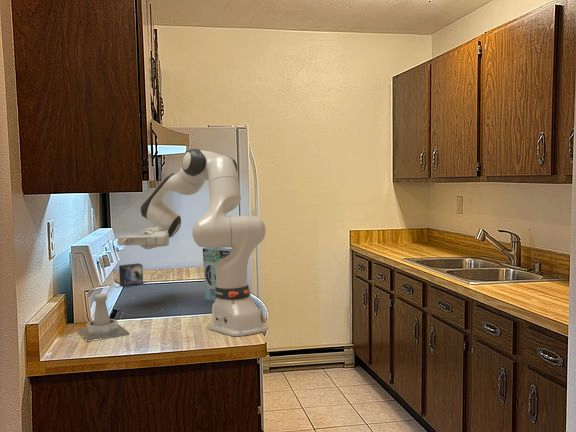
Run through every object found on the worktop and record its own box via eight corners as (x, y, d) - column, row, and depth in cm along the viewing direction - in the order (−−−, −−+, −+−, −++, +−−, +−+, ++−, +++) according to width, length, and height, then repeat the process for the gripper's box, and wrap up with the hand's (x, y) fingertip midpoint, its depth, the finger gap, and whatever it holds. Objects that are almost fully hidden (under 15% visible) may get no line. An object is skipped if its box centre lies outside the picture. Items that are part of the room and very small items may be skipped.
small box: (123, 287, 279) (122, 266, 279) (119, 285, 285) (118, 265, 284) (143, 284, 285) (142, 264, 284) (139, 282, 290) (138, 263, 290)
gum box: (241, 303, 233) (238, 249, 231) (231, 306, 229) (229, 250, 228) (213, 297, 247) (211, 246, 245) (204, 299, 244) (201, 247, 242)
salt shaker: (105, 333, 191) (103, 296, 190) (90, 333, 192) (88, 295, 191) (114, 328, 196) (112, 292, 196) (99, 328, 198) (97, 292, 197)
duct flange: (129, 334, 191) (128, 323, 191) (86, 342, 184) (86, 330, 184) (116, 325, 205) (116, 314, 205) (76, 331, 198) (76, 321, 197)
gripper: (125, 231, 235) (110, 234, 221) (171, 230, 232) (159, 233, 218) (126, 246, 235) (111, 250, 222) (172, 245, 233) (160, 249, 219)
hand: (135, 242), depth 220 cm, fingers open, 8 cm apart
